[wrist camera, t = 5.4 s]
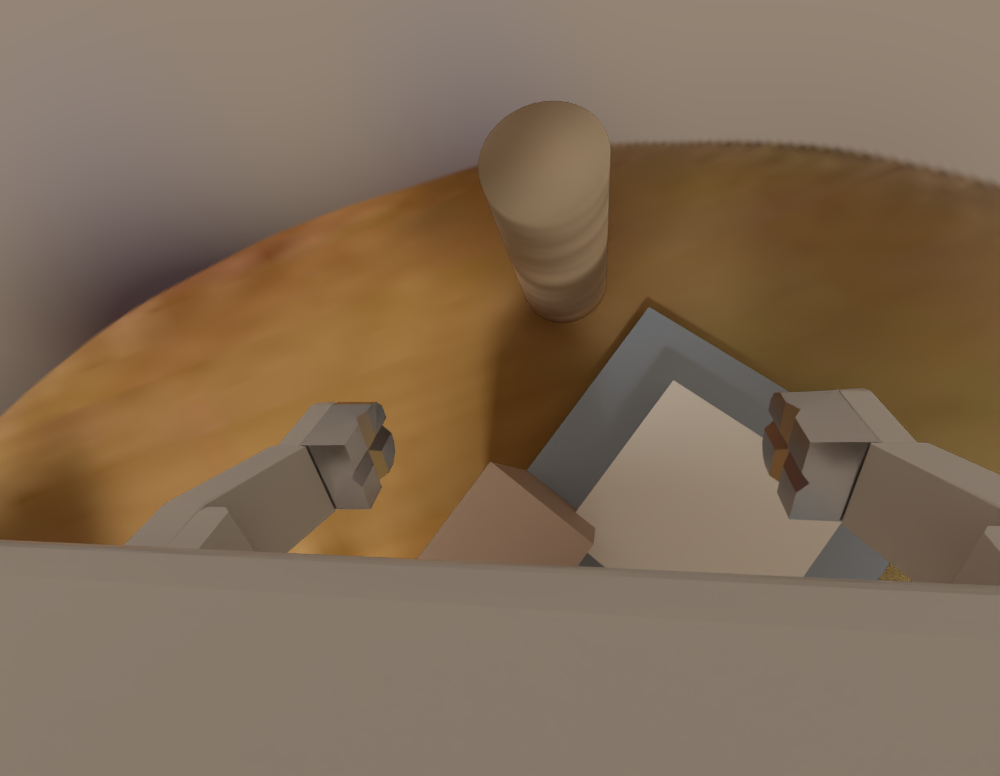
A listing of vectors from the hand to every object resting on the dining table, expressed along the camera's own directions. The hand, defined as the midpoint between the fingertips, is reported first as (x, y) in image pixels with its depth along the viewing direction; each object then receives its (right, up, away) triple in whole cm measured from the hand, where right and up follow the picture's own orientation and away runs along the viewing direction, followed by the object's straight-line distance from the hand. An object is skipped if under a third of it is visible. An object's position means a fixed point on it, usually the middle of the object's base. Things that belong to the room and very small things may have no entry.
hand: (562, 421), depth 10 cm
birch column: (+2, +6, +15) cm, 17 cm away
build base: (+7, -5, +12) cm, 15 cm away
